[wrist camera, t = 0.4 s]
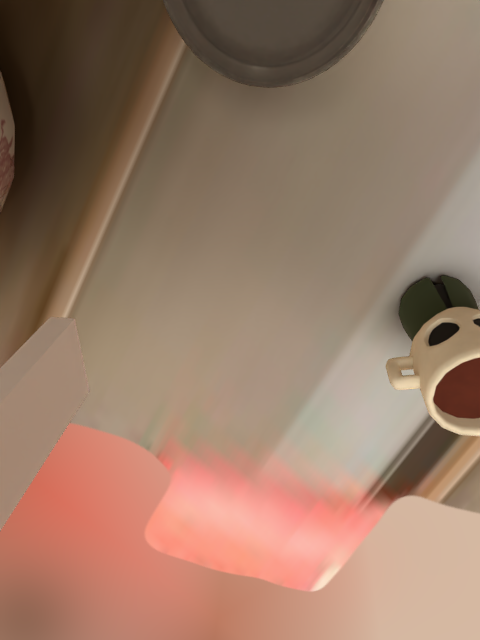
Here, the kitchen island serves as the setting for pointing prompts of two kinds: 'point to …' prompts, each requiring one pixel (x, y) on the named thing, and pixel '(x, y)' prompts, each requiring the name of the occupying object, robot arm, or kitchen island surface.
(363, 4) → the coffee can
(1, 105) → the chamber pot
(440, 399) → the character mug
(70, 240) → the kitchen island surface
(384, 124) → the kitchen island surface
